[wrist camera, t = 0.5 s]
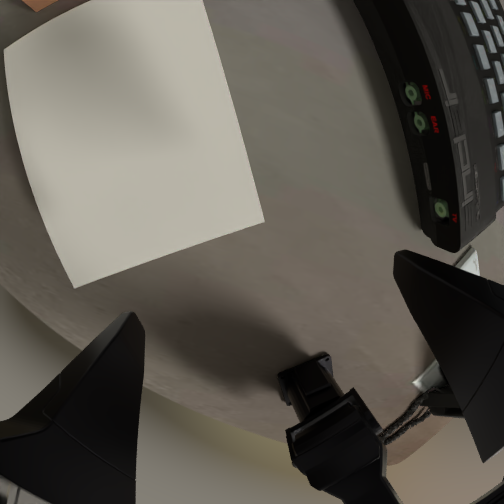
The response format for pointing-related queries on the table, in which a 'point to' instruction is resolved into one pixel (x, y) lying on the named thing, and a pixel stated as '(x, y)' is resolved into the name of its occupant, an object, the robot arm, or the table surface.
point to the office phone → (438, 404)
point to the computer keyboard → (447, 106)
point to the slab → (128, 134)
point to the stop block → (38, 4)
